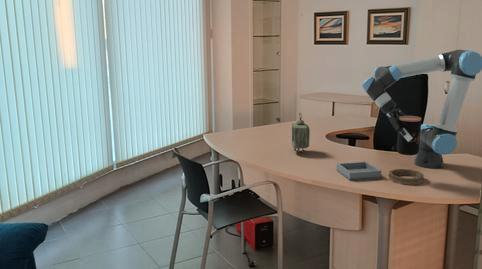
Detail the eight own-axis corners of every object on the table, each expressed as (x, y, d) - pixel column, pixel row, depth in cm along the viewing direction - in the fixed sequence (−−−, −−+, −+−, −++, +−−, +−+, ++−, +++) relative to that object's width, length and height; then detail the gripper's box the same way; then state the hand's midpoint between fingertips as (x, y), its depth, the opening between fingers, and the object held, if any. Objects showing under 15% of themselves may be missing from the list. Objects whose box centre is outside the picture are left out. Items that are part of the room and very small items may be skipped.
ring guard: (411, 173, 253) (412, 167, 252) (429, 183, 237) (430, 177, 236) (383, 175, 249) (383, 170, 249) (399, 185, 234) (399, 180, 233)
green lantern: (291, 149, 302) (292, 110, 296) (305, 149, 302) (306, 110, 296) (294, 155, 287) (295, 114, 282) (309, 155, 288) (310, 114, 282)
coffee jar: (408, 156, 233) (410, 120, 229) (391, 151, 242) (393, 117, 238) (423, 153, 238) (426, 118, 234) (406, 148, 247) (409, 114, 243)
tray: (365, 168, 261) (366, 161, 261) (380, 178, 245) (381, 170, 244) (336, 170, 258) (336, 163, 257) (349, 180, 242) (349, 173, 241)
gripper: (389, 105, 253) (416, 137, 247) (371, 111, 236) (400, 147, 230) (399, 95, 249) (428, 129, 243) (381, 102, 231) (412, 137, 225)
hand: (414, 137), depth 236 cm, fingers closed on coffee jar, 11 cm apart
